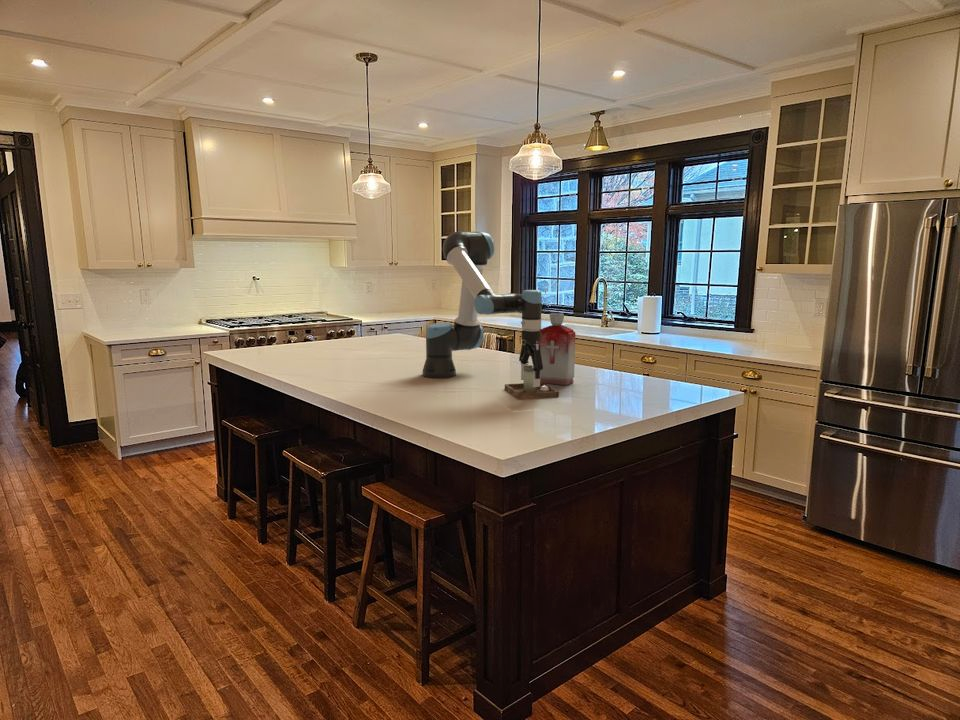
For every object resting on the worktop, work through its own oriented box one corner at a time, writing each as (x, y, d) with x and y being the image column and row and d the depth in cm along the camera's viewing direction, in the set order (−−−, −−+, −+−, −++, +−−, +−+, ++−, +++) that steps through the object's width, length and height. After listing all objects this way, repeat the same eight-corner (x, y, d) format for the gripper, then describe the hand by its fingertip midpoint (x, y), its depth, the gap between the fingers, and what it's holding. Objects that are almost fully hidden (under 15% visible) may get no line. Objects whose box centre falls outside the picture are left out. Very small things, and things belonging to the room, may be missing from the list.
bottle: (534, 383, 266) (536, 313, 260) (543, 379, 275) (545, 311, 269) (566, 387, 259) (569, 315, 254) (575, 383, 268) (577, 313, 263)
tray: (504, 390, 253) (504, 384, 253) (541, 388, 258) (541, 382, 257) (519, 400, 236) (519, 394, 236) (558, 398, 241) (558, 391, 240)
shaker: (521, 391, 250) (521, 364, 248) (533, 390, 251) (534, 364, 249) (525, 394, 245) (526, 367, 243) (538, 393, 246) (539, 366, 244)
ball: (538, 393, 246) (538, 384, 245) (546, 393, 246) (546, 384, 246) (541, 395, 242) (541, 386, 241) (550, 395, 243) (550, 386, 242)
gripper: (511, 326, 254) (511, 377, 258) (533, 334, 231) (532, 390, 234) (529, 325, 256) (528, 376, 260) (552, 333, 233) (551, 389, 237)
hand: (530, 383), depth 247 cm, fingers open, 13 cm apart
